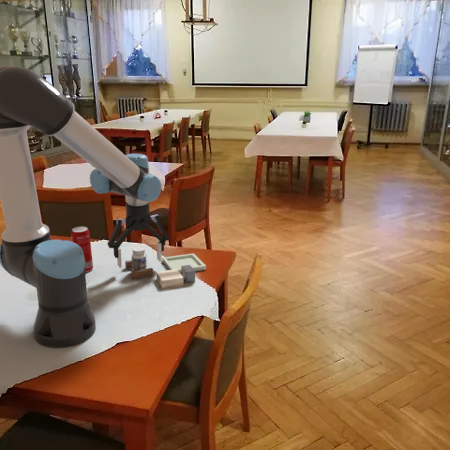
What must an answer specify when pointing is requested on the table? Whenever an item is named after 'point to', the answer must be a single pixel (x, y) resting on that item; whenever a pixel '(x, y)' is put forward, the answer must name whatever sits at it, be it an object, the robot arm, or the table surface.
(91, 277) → the table surface
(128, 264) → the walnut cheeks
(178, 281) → the beige grooved block
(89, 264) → the beverage can
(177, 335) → the table surface
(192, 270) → the bench dog
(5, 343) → the table surface
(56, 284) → the robot arm
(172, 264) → the tray
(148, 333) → the table surface
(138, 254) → the pill bottle
